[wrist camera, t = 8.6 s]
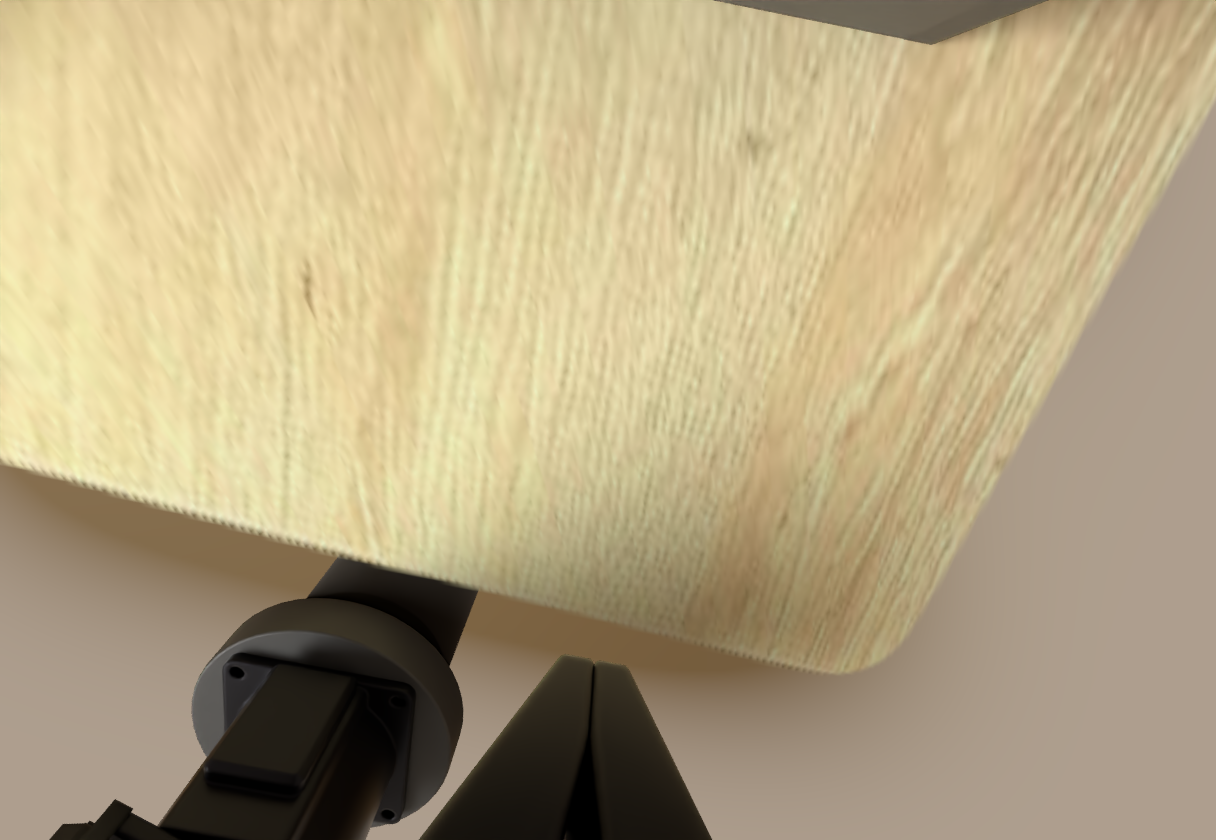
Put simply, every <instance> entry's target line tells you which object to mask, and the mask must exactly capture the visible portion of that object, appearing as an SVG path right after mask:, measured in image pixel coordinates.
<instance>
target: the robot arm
mask: <svg viewBox="0 0 1216 840" xmlns="http://www.w3.org/2000/svg"><path fill="white" fill-rule="evenodd" d="M240 668H241V669H240ZM222 679H223V706H224V732H225V733H224V735H223V736H222V737H221V739H220V740H219V742H218V743H217V744H216V746H215V747H214V748H213V750H212V751H211V753H210V754H209V755H208V757H207V758H206V760H205V761H204V762H203V764H202V765H201V766H200V768H199V769H198V771H197V772H196V773H195V775H194V776H193V777H192V779H191V780H190V781H189V783H188V784H187V786H186V787H185V788H184V790H183V791H182V792H181V794H180V795H179V797H178V798H177V799H176V801H175V802H174V804H173V805H172V806H171V808H170V809H169V810H168V812H167V813H166V815H165V816H164V817H163V819H162V820H161V821H160V823H159V824H158V826H156V825H154V824H152V823H150V822H148V821H146V820H144V819H142V818H141V817H139V816H137V815H135V814H133V813H131V811H132V810H133V808H131V807H129V806H127V805H125V804H123V803H121V802H120V801H117V800H116V799H115V800H114V801H113V802H112V804H111V805H110V806H109V807H108V808H107V809H106V811H105V812H104V813H103V814H102V815H101V817H100V818H99V819H98V820H97V821H96V822H95V823H93V822H91V821H89V822H88V823H84V824H83V823H82V824H63V825H62V826H61V827H60V828H59V829H58V830H57V832H56V833H55V834H54V835H53V836H52V837H51V839H50V840H366V837H367V834H368V832H369V830H370V827H371V825H372V822H379V823H384V824H395V823H397V822H399V821H400V819H401V817H402V814H403V811H404V808H405V801H406V792H407V782H408V772H409V762H410V753H411V743H412V733H413V724H414V714H415V704H416V691H415V690H414V688H413V687H412V686H410V685H409V684H407V683H404V682H399V681H393V680H388V679H382V678H377V677H372V676H366V675H361V674H355V673H350V672H344V671H339V670H333V669H328V668H323V667H317V666H312V665H306V664H301V663H295V662H290V661H284V660H279V659H274V658H268V657H263V656H257V655H252V654H246V653H236V654H233V655H232V656H231V657H230V658H229V659H228V660H227V662H226V663H225V664H224V665H223V669H222ZM397 696H399V697H401V698H403V699H400V698H398V697H397ZM419 840H712V839H711V836H710V835H709V832H708V830H707V828H706V826H705V824H704V822H703V820H702V818H701V816H700V814H699V812H698V810H697V808H696V806H695V804H694V802H693V800H692V798H691V796H690V793H689V791H688V789H687V787H686V785H685V783H684V781H683V779H682V777H681V775H680V773H679V771H678V769H677V767H676V765H675V763H674V761H673V759H672V757H671V755H670V753H669V750H668V748H667V746H666V744H665V742H664V740H663V738H662V736H661V734H660V732H659V730H658V728H657V726H656V724H655V722H654V720H653V718H652V716H651V714H650V712H649V709H648V707H647V705H646V703H645V701H644V699H643V697H642V695H641V693H640V691H639V689H638V687H637V685H636V683H635V681H634V679H633V677H632V675H631V673H630V671H629V669H628V668H627V667H626V666H625V665H621V664H616V663H611V662H605V661H597V662H596V663H595V664H593V662H592V660H591V659H589V658H584V657H578V656H573V655H567V654H564V655H562V656H560V657H559V658H558V659H557V661H556V662H555V663H554V665H553V666H552V667H551V669H550V670H549V671H548V672H547V674H546V675H545V677H544V678H543V679H542V680H541V682H540V683H539V684H538V686H537V687H536V688H535V689H534V691H533V692H532V693H531V695H530V696H529V697H528V699H527V700H526V701H525V702H524V704H523V705H522V706H521V708H520V709H519V710H518V712H517V713H516V714H515V715H514V717H513V718H512V719H511V721H510V722H509V723H508V724H507V726H506V727H505V728H504V730H503V731H502V732H501V734H500V735H499V736H498V738H497V739H496V740H495V741H494V743H493V744H492V745H491V747H490V748H489V749H488V750H487V752H486V753H485V755H484V756H483V757H482V758H481V760H480V761H479V762H478V764H477V765H476V766H475V767H474V769H473V770H472V771H471V773H470V774H469V775H468V777H467V778H466V779H465V781H464V782H463V783H462V785H461V786H460V787H459V788H458V790H457V791H456V792H455V794H454V795H453V796H452V797H451V799H450V800H449V801H448V803H447V804H446V805H445V807H444V808H443V809H442V810H441V812H440V813H439V814H438V816H437V817H436V818H435V820H434V821H433V822H432V823H431V825H430V826H429V827H428V829H427V830H426V831H425V833H424V834H423V835H422V836H421V838H420V839H419Z"/></svg>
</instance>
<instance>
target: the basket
mask: <svg viewBox="0 0 1216 840" xmlns="http://www.w3.org/2000/svg"><path fill="white" fill-rule="evenodd" d="M715 1H720V2H725V3H730V4H735V5H740V6H744V7H749V8H754V9H759V10H764V11H769V12H774V13H779V14H784V15H789V16H794V17H799V18H804V19H809V20H813V21H818V22H823V23H828V24H833V25H838V26H843V27H848V28H853V29H858V30H863V31H868V32H873V33H877V34H882V35H887V36H892V37H897V38H902V39H905V40H910V41H915V42H920V43H925V44H930V45H932V44H935V43H937V42H940V41H943V40H945V39H948V38H950V37H953V36H956V35H958V34H961V33H964V32H966V31H969V30H972V29H974V28H977V27H979V26H982V25H985V24H987V23H990V22H993V21H995V20H998V19H1000V18H1003V17H1006V16H1008V15H1011V14H1014V13H1016V12H1019V11H1021V10H1024V9H1027V8H1029V7H1032V6H1035V5H1037V4H1040V3H1042V2H1045V1H1048V0H715Z"/></svg>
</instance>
